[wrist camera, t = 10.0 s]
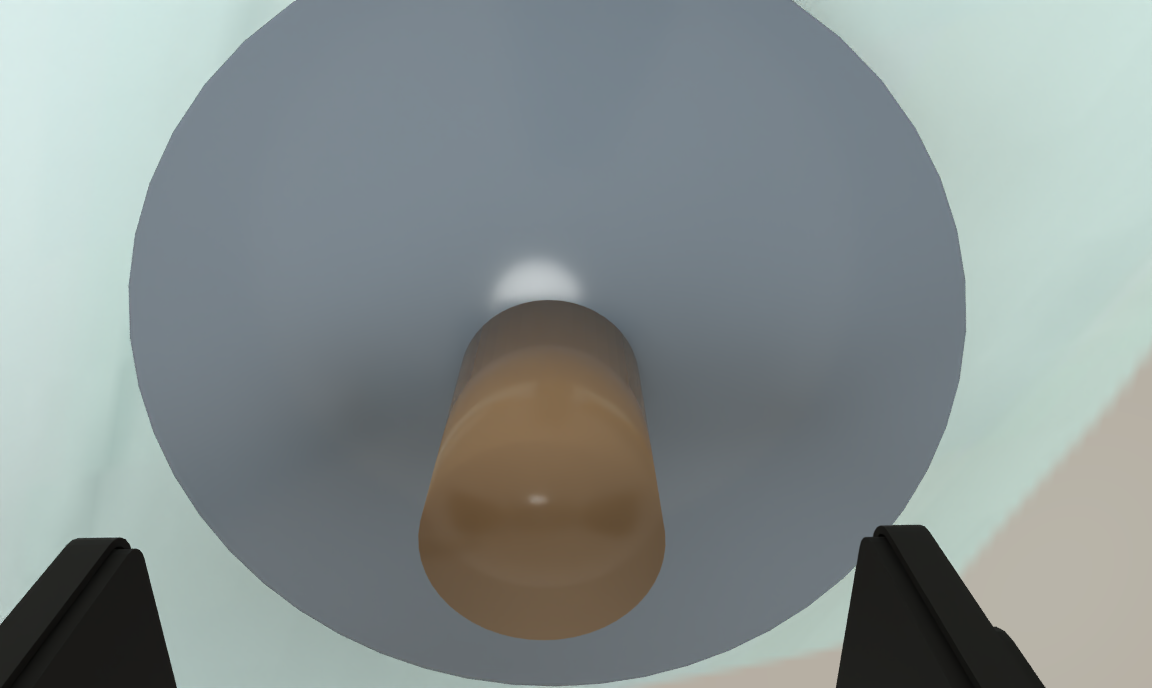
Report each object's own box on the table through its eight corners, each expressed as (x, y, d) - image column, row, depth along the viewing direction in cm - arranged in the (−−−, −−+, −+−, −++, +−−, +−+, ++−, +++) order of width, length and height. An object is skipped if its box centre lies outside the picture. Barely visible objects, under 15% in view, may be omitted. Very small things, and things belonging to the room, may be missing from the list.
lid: (879, 645, 21) (992, 898, 15) (232, 651, 21) (109, 906, 15) (1016, -74, 14) (1304, -89, 9) (66, -70, 14) (-260, -81, 9)
